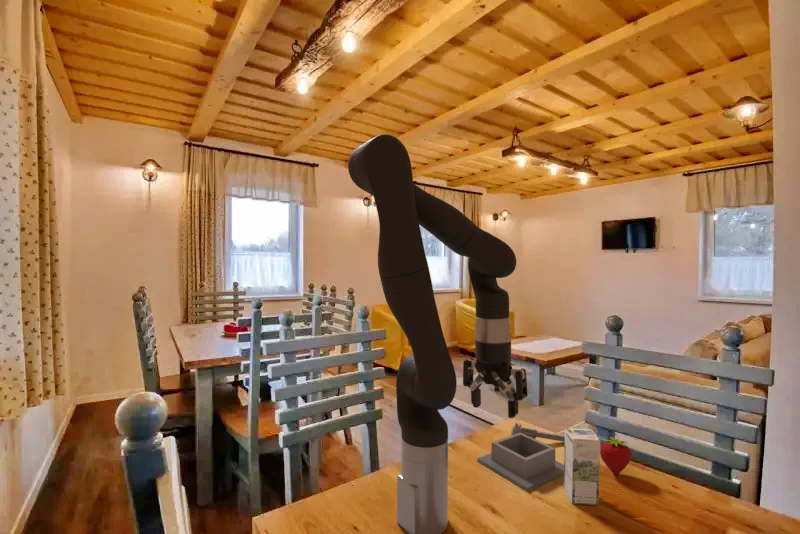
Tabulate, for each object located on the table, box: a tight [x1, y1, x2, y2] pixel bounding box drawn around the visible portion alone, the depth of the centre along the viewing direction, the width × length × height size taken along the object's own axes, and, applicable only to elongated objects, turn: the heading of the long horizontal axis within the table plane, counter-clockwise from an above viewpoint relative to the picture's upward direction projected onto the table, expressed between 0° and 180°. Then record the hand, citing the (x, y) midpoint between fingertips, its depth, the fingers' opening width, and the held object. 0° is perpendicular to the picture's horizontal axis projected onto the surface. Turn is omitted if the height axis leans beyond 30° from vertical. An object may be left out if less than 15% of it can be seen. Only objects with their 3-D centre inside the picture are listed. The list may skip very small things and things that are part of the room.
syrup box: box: [563, 427, 601, 506], centre depth 88 cm, size 6×6×14 cm
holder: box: [476, 432, 564, 492], centre depth 102 cm, size 16×16×5 cm
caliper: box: [510, 422, 565, 443], centre depth 115 cm, size 20×1×6 cm, turn 94°
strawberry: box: [600, 432, 632, 476], centre depth 98 cm, size 6×8×10 cm
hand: (494, 411), depth 87 cm, fingers open, 8 cm apart
